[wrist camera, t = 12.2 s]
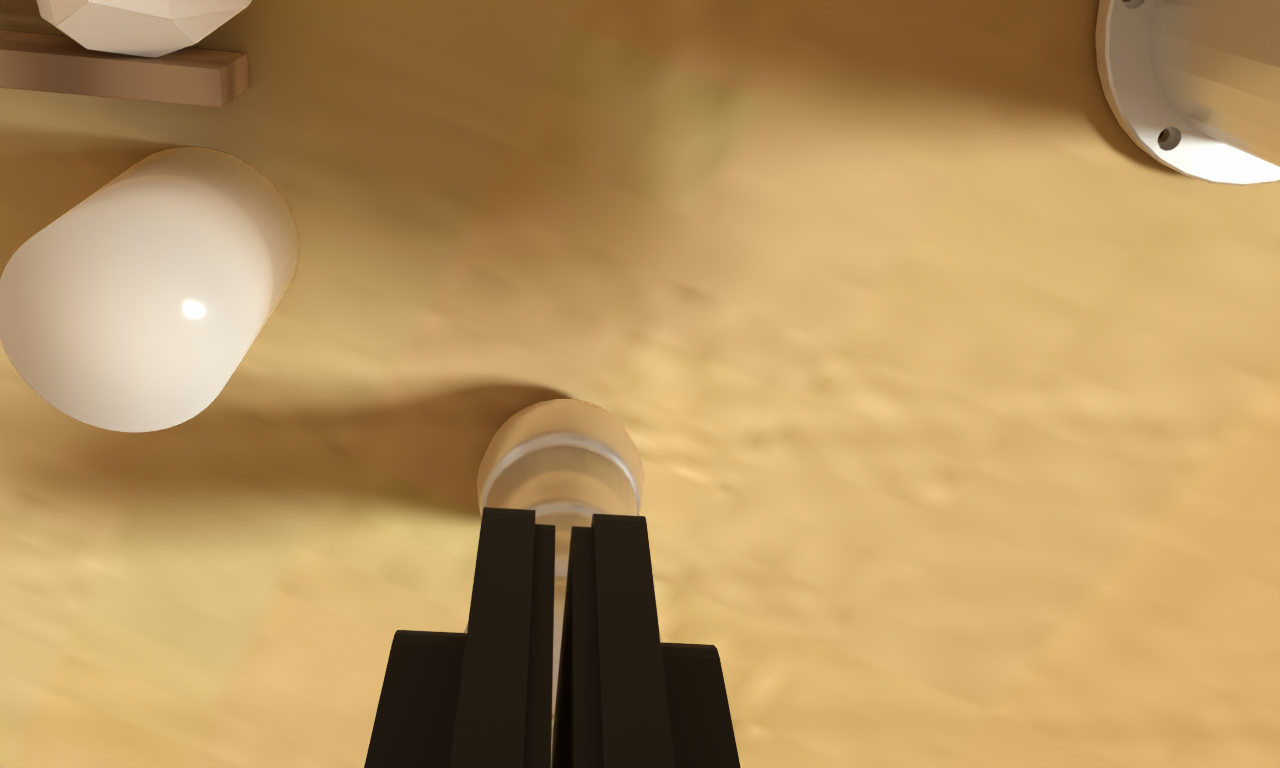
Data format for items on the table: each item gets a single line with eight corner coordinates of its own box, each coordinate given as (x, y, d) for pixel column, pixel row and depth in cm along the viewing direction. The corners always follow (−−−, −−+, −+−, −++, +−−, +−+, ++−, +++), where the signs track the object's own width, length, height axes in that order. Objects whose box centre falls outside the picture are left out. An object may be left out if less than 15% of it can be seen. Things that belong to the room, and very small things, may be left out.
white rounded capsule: (296, 155, 42) (230, 227, 33) (300, 332, 44) (240, 439, 36) (97, 138, 41) (-20, 207, 33) (114, 319, 44) (10, 424, 36)
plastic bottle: (448, 462, 47) (373, 839, 29) (555, 348, 45) (545, 675, 27) (567, 547, 49) (566, 949, 31) (673, 441, 47) (738, 803, 29)
